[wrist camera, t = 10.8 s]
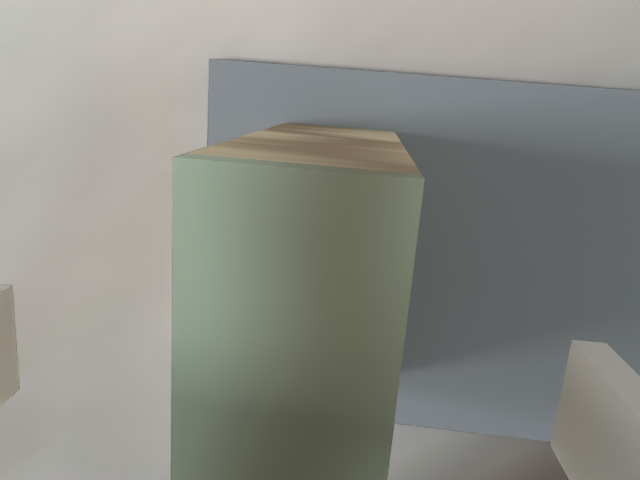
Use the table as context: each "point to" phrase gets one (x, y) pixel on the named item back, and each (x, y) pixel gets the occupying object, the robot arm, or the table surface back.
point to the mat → (485, 225)
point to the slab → (290, 303)
